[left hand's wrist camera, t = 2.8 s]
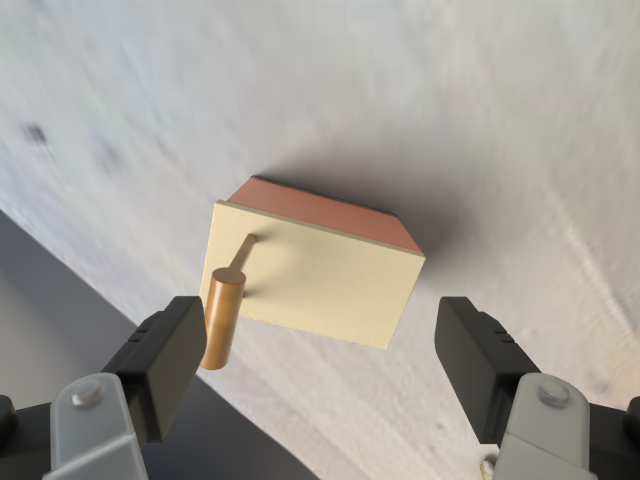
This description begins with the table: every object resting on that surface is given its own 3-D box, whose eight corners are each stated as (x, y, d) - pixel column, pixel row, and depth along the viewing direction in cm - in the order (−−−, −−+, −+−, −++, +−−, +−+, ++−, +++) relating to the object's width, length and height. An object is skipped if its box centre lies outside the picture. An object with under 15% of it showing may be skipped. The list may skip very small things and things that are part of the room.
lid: (201, 299, 29) (151, 378, 20) (219, 198, 26) (168, 242, 17) (385, 342, 30) (410, 432, 22) (422, 252, 27) (469, 316, 19)
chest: (236, 252, 39) (207, 300, 29) (252, 175, 36) (226, 200, 26) (369, 285, 40) (385, 342, 30) (395, 214, 37) (422, 251, 27)
